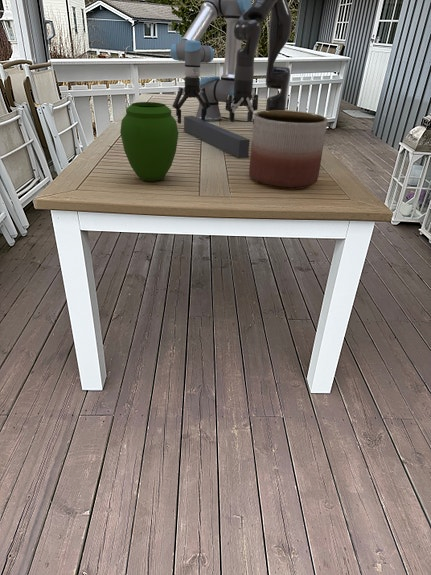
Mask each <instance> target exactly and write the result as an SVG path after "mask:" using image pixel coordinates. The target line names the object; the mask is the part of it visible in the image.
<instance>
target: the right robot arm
mask: <svg viewBox="0 0 431 575" xmlns="http://www.w3.org/2000/svg"><path fill="white" fill-rule="evenodd" d="M268 16H270V17H269V29H268V30H269V31H268V53H267V54H268V55H267V63H266V72H265V86H266V88H268V89H274V90H280V91H279V92H278V93H277V94H275V95H274V94H273V95H271V96H268V97H267V98H266V105H265V111H268V110H286V104H287V97H288V89H289V83H290V78H291V69H290V67H288V66H275V62H276V60H277V58H278V56H279V55H280V53H281V51H282V49H283V48H284V47H285V46H286V44H287V42H288V41H289V39H290V37H291V34H292V33H291V32H292V24H293V17H292V11H291V9H290V6H289V3H288V1H287V0H254V1H253V3H252V6H251V7H250V8H249V9H248V10H247V11H246V12H245V13H244V14H243V15H242V16H241V17H240V18H239V19H238V20H237V22H236V23H235V26H234V36H235V38H236V39H238V40H240V41H242V42H245V44H244V46H243V47H241V48H240V49H238V51H237V57H236V69H235V79H234V95H229V94H228V95H227V98H226V102H225V108H224V109H225V111H227V112H229V113H228V114H229V116H228V118H229V119H228V121H229V122H230V123H235V121H234V120H235V115H236V114H235V112H236V110H237V109H238V108H239V107H246V109H247V110H248V111H247V119H246V121H251V120H253V119H254V118H253V116H254V111H257V110H258V108H259V94H257V93H252V92H253V86H254V77H255V76H254V74H255V70H254V67H255V57H256V56H255V55H256V53H257V52H256V51H257V49H258V46H259V41H260V39H261V36H262V26H261V24H262V23H263V22H265V20H266V19H267V18H268ZM233 99H234V102H233V103H232V100H233ZM251 100H252V101H251Z"/></svg>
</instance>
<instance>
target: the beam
mask: <svg viewBox="0 0 431 575" xmlns="http://www.w3.org/2000/svg"><path fill="white" fill-rule="evenodd" d="M183 132H185V133H187V134H188V135H191V136H193V137H195V138H196V139H199V140H201V141H203V142H205V143H206V144H209V145H211V146H213V147H215V148H217V149H219V150H221V151H223V152H224V153H225V152H226V153H227V154H229V155H231V156H233V157H235V158H238V159H245V158H249V154H250V152H249V151H250V140H251V139H249V138H247V137H245V136H243V135H239V134H237V133H235V132H232V131H231V130H227V129H225V128H223V127H220V126H218V125H216V124H213V123H211V122H209V121H204V120H201V119H199V118H196V116H194V115H185V116H183Z"/></svg>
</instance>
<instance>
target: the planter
mask: <svg viewBox="0 0 431 575" xmlns="http://www.w3.org/2000/svg"><path fill="white" fill-rule="evenodd" d="M253 119H254V125H253V129H252V137H251V138H252V139H251V147H250V148H251V149H250V157H249V165H248V166H249V167H248V174H249V177H251V179H252V180H254V181H255V182H257V183H259V184H261V185H264V186H268V187H271V188H276V189H289V190H291V189H292V190H293V189H302V188H306V187H310V186H312V185H314V184H316V183H317V182H318V180H319V175H320V169H321V163H322V157H323V156H322V155H323V150H324V145H325V139H326V132H327V127H328V122H329V119H328V118H327V117H325V116H323V115H321V114H317V113H312V112H306V111H297V110H286V109H285V110H268V111H266V110H260V111H257V112H255V113H254V118H253Z"/></svg>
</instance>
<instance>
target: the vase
mask: <svg viewBox="0 0 431 575" xmlns="http://www.w3.org/2000/svg"><path fill="white" fill-rule="evenodd" d="M125 113H126V114H125V115H124V117H122V119H121V122H120V123H121V124H120V130H119V133H120V138H121V142H122V147H123V150H124V154H125V155H126V158H127V160H128V163H129V165H130V167H131V168H132V170H133V172H134V173H135V175H136V176H137V177H138V178H139V179H141V180H143V181H145V182H159V181H161V180H163V179H164V178H165V176H166V175H167V174H168V173H169V170H170V169H171V167H172V165H173V162H174V159H175V157H176V156H175V155H176V153H177V147H178V140H179V129H178V122H177V120H176V119H175V117H174V116H173V115H172V109H171V108H170V107H169V106H167V105H166V104H164V103H162V102H155V101H138V102H132V103H131V104H130V105H128V107H127V108H125Z"/></svg>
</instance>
